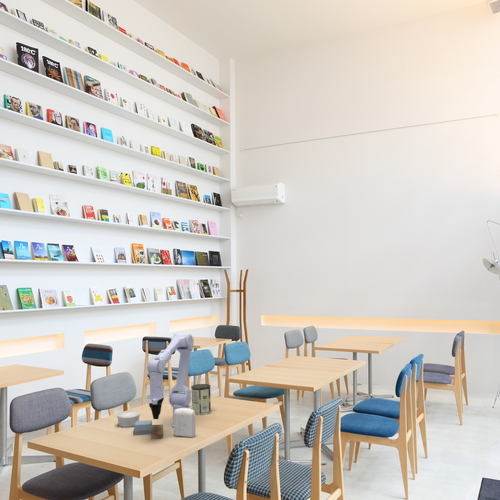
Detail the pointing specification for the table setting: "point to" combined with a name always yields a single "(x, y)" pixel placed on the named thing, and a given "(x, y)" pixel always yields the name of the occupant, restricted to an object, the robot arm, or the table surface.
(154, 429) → the walnut cube
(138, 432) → the tower base
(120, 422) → the ramekin
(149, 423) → the tower top
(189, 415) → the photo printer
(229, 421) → the table surface
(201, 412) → the coffee can
